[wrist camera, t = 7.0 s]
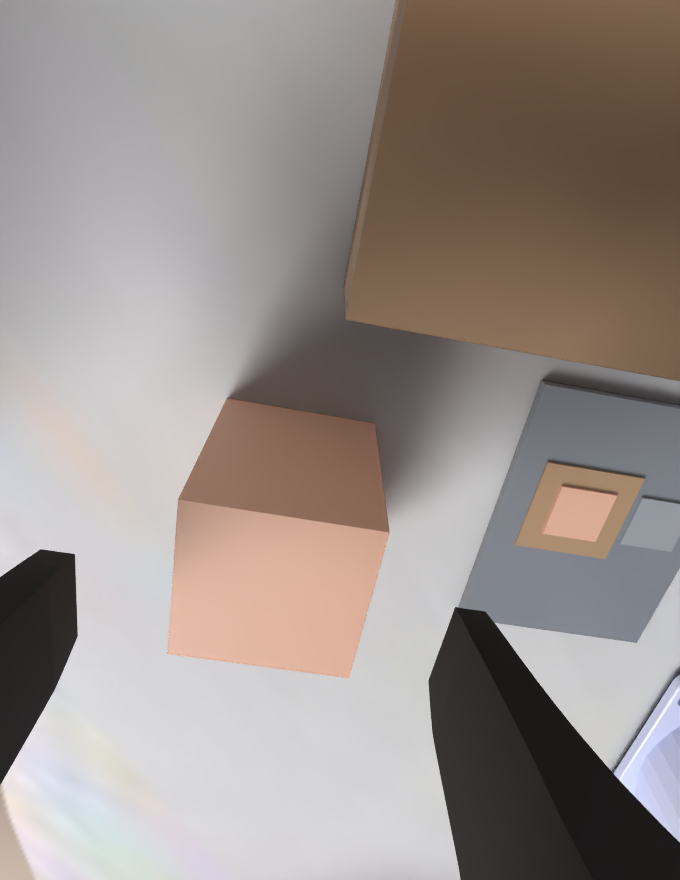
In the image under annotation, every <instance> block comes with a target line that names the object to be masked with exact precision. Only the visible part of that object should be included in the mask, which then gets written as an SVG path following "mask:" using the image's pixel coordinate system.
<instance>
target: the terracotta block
mask: <svg viewBox="0 0 680 880" xmlns="http://www.w3.org/2000/svg"><path fill="white" fill-rule="evenodd" d="M389 533H390V532H389V525H388V517H387V510H386V503H385V495H384V488H383V480H382V473H381V465H380V458H379V450H378V443H377V435H376V428H375V423H369V422H363V421H357V420H351V419H345V418H340V417H334V416H328V415H322V414H316V413H311V412H305V411H299V410H293V409H287V408H282V407H276V406H270V405H264V404H258V403H253V402H247V401H241V400H235V399H229V398H227V399H226V401H225V403H224V406H223V408H222V410H221V412H220V414H219V416H218V418H217V420H216V422H215V424H214V426H213V428H212V430H211V433H210V435H209V437H208V439H207V441H206V443H205V445H204V447H203V449H202V451H201V453H200V455H199V457H198V459H197V462H196V464H195V466H194V468H193V470H192V472H191V474H190V476H189V478H188V480H187V482H186V484H185V486H184V489H183V491H182V493H181V495H180V497H179V499H178V509H177V523H176V537H175V552H174V566H173V580H172V595H171V609H170V623H169V638H168V652H167V654H172V655H179V656H187V657H194V658H202V659H209V660H217V661H224V662H232V663H239V664H247V665H254V666H262V667H269V668H277V669H284V670H292V671H299V672H307V673H314V674H322V675H329V676H337V677H344V678H349V677H350V673H351V670H352V666H353V662H354V659H355V655H356V652H357V648H358V644H359V641H360V637H361V634H362V630H363V626H364V623H365V619H366V616H367V612H368V608H369V605H370V601H371V598H372V594H373V590H374V587H375V583H376V580H377V576H378V572H379V569H380V565H381V562H382V558H383V554H384V551H385V547H386V544H387V540H388V536H389Z"/></svg>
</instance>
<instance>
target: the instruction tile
mask: <svg viewBox="0 0 680 880" xmlns="http://www.w3.org/2000/svg"><path fill="white" fill-rule="evenodd" d="M679 568H680V405H675V404H669V403H664V402H658V401H653V400H647V399H641V398H636V397H630V396H625V395H619V394H614V393H608V392H602V391H597V390H591V389H586V388H580V387H575V386H569V385H563V384H558V383H552V382H547V381H541V383H540V386H539V389H538V392H537V394H536V397H535V400H534V403H533V405H532V408H531V411H530V413H529V416H528V419H527V422H526V424H525V427H524V430H523V433H522V435H521V438H520V441H519V444H518V446H517V449H516V452H515V454H514V457H513V460H512V463H511V465H510V468H509V471H508V474H507V476H506V479H505V482H504V485H503V487H502V490H501V493H500V495H499V498H498V501H497V504H496V506H495V509H494V512H493V515H492V517H491V520H490V523H489V526H488V528H487V531H486V534H485V536H484V539H483V542H482V545H481V547H480V550H479V553H478V556H477V558H476V561H475V564H474V566H473V569H472V572H471V575H470V577H469V580H468V583H467V586H466V588H465V591H464V594H463V597H462V599H461V602H460V605H459V607H458V608H464V609H472V610H479V611H486V613H487V614H488V615H489V617H490V618H491V619H492V620H493V622H494V623H501V624H508V625H515V626H522V627H529V628H536V629H543V630H550V631H557V632H564V633H571V634H579V635H586V636H593V637H600V638H607V639H614V640H621V641H628V642H635V643H637V641H638V639H639V638H640V636H641V634H642V632H643V631H644V629H645V627H646V626H647V624H648V622H649V620H650V619H651V617H652V615H653V613H654V612H655V610H656V608H657V606H658V605H659V603H660V601H661V599H662V598H663V596H664V594H665V592H666V591H667V589H668V587H669V585H670V584H671V582H672V580H673V578H674V577H675V575H676V573H677V571H678V570H679Z"/></svg>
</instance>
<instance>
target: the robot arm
mask: <svg viewBox="0 0 680 880" xmlns="http://www.w3.org/2000/svg"><path fill="white" fill-rule="evenodd" d="M77 636H78V634H77V605H76V576H75V554H70V553H62V552H55V551H48V550H39V551H38V552H36V553H35V554H33V555H32V556H30V557H29V558H27V559H26V560H24V561H23V562H21V563H20V564H18V565H17V566H16V567H14V568H13V569H11V570H10V571H8V572H7V573H6V574H4V575H3V576H1V577H0V784H1V783H2V781H3V779H4V778H5V776H6V774H7V772H8V771H9V769H10V767H11V765H12V764H13V762H14V760H15V758H16V757H17V755H18V753H19V751H20V750H21V748H22V746H23V745H24V743H25V741H26V739H27V738H28V736H29V734H30V732H31V731H32V729H33V727H34V725H35V724H36V722H37V720H38V718H39V717H40V715H41V713H42V711H43V709H44V708H45V706H46V704H47V702H48V701H49V699H50V697H51V695H52V693H53V692H54V690H55V688H56V685H57V683H58V681H59V679H60V676H61V674H62V672H63V670H64V667H65V665H66V663H67V660H68V658H69V655H70V653H71V651H72V648H73V646H74V643H75V641H76V639H77ZM429 694H430V708H431V720H432V731H433V738H434V744H435V749H436V754H437V759H438V765H439V770H440V775H441V780H442V785H443V790H444V795H445V800H446V805H447V810H448V815H449V820H450V825H451V830H452V835H453V840H454V845H455V850H456V855H457V860H458V866H459V872H460V878H461V880H680V675H679V676H677V677H676V678H675V679H674V680H673V681H672V683H671V684H670V686H669V688H668V689H667V691H666V692H665V694H664V695H663V697H662V699H661V700H660V702H659V703H658V705H657V706H656V708H655V710H654V711H653V713H652V714H651V716H650V717H649V719H648V720H647V722H646V724H645V725H644V727H643V728H642V730H641V731H640V733H639V735H638V736H637V738H636V739H635V741H634V742H633V744H632V746H631V747H630V749H629V750H628V752H627V753H626V755H625V756H624V758H623V760H622V761H621V763H620V764H619V766H618V767H617V769H616V771H615V772H614V774H613V773H612V772H611V770H610V769H609V768H608V767H607V766H606V765H605V764H604V763H603V761H602V760H601V759H600V758H599V757H598V755H597V754H596V753H595V752H594V751H593V750H592V748H591V747H590V746H589V745H588V744H587V743H586V741H585V740H584V739H583V738H582V737H581V736H580V734H579V733H578V732H577V731H576V730H575V728H574V727H573V726H572V725H571V724H570V722H569V721H568V720H567V719H566V717H565V716H564V715H563V714H562V712H561V711H560V710H559V709H558V707H557V706H556V705H555V704H554V702H553V701H552V700H551V698H550V697H549V696H548V695H547V693H546V692H545V691H544V689H543V688H542V687H541V685H540V684H539V683H538V682H537V680H536V679H535V678H534V676H533V675H532V674H531V672H530V671H529V670H528V668H527V667H526V665H525V664H524V663H523V661H522V660H521V659H520V657H519V656H518V655H517V653H516V652H515V651H514V649H513V648H512V646H511V645H510V644H509V642H508V641H507V640H506V638H505V637H504V635H503V634H502V633H501V631H500V630H499V629H498V627H497V626H496V625H495V623H494V622H493V620H492V619H491V618H490V617H489V615H488V614H487V613H486V611H479V610H472V609H464V608H457V607H455V609H454V612H453V615H452V618H451V620H450V623H449V626H448V629H447V631H446V634H445V637H444V640H443V642H442V645H441V648H440V651H439V653H438V656H437V659H436V662H435V664H434V667H433V670H432V673H431V675H430V678H429Z"/></svg>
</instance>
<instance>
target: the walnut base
mask: <svg viewBox="0 0 680 880" xmlns="http://www.w3.org/2000/svg"><path fill="white" fill-rule="evenodd" d="M344 293H345V318H346V320H350V321H355V322H361V323H366V324H371V325H377V326H382V327H388V328H393V329H399V330H404V331H410V332H415V333H421V334H426V335H431V336H437V337H442V338H448V339H453V340H459V341H464V342H470V343H475V344H481V345H486V346H492V347H497V348H502V349H508V350H513V351H519V352H524V353H530V354H535V355H541V356H546V357H552V358H557V359H562V360H568V361H573V362H579V363H584V364H590V365H595V366H601V367H606V368H612V369H617V370H623V371H628V372H633V373H639V374H644V375H650V376H655V377H661V378H666V379H672V380H677V381H680V0H396V4H395V10H394V15H393V21H392V26H391V31H390V37H389V42H388V48H387V53H386V59H385V64H384V69H383V75H382V80H381V86H380V91H379V97H378V102H377V107H376V113H375V118H374V124H373V129H372V135H371V140H370V145H369V151H368V156H367V162H366V167H365V173H364V178H363V184H362V189H361V194H360V200H359V205H358V211H357V216H356V222H355V227H354V232H353V238H352V243H351V249H350V254H349V260H348V265H347V270H346V276H345V281H344Z"/></svg>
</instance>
